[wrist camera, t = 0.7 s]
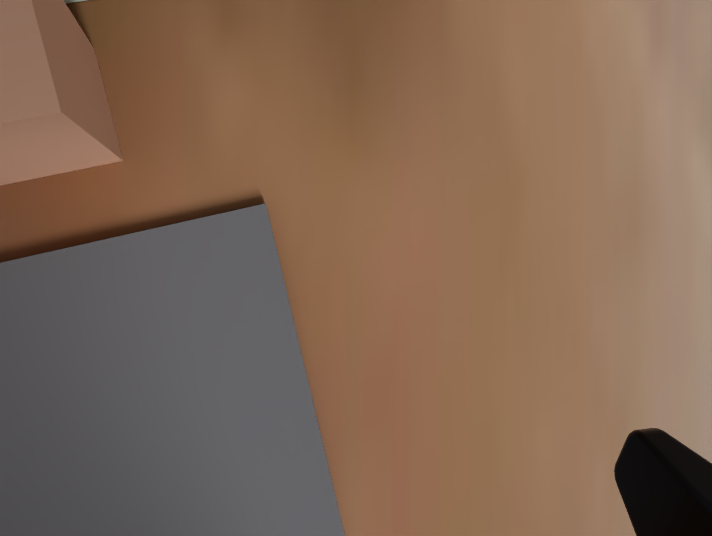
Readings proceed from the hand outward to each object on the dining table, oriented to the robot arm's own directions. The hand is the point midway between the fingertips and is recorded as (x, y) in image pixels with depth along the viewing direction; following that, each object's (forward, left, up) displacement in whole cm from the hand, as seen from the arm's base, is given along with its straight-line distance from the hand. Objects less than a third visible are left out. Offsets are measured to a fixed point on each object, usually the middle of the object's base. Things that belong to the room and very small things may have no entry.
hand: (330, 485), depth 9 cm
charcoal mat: (-4, +3, -14) cm, 15 cm away
